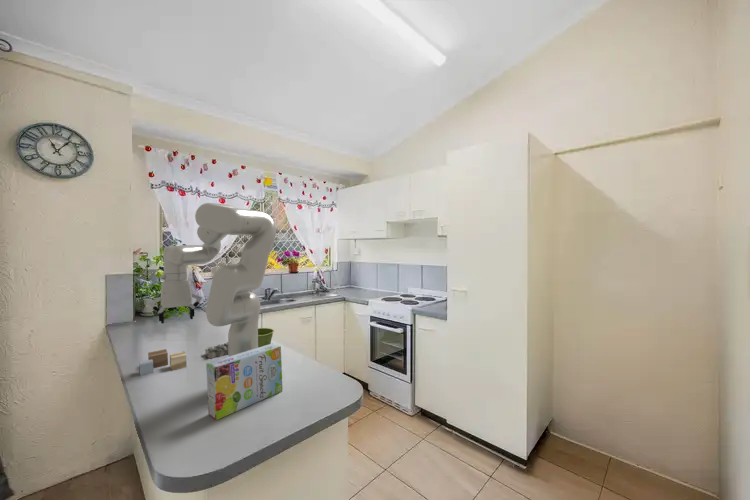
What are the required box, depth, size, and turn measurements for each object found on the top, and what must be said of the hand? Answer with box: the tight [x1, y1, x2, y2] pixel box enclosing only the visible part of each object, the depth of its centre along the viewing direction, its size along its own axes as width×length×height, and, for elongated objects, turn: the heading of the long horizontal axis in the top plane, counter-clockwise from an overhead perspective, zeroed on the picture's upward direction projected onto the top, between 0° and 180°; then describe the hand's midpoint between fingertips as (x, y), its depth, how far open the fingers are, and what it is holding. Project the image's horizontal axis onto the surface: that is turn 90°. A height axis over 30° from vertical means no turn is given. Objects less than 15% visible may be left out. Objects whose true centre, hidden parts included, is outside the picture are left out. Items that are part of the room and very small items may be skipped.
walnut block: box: [147, 348, 169, 369], centre depth 125 cm, size 6×6×5 cm
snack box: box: [205, 343, 283, 421], centre depth 94 cm, size 21×6×15 cm, turn 141°
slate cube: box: [139, 359, 154, 376], centre depth 118 cm, size 4×4×4 cm
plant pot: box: [258, 327, 275, 348], centre depth 130 cm, size 12×12×11 cm
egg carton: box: [204, 341, 229, 359], centre depth 136 cm, size 11×8×4 cm
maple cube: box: [169, 351, 188, 371], centre depth 122 cm, size 5×5×5 cm
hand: (177, 320), depth 122 cm, fingers open, 9 cm apart
